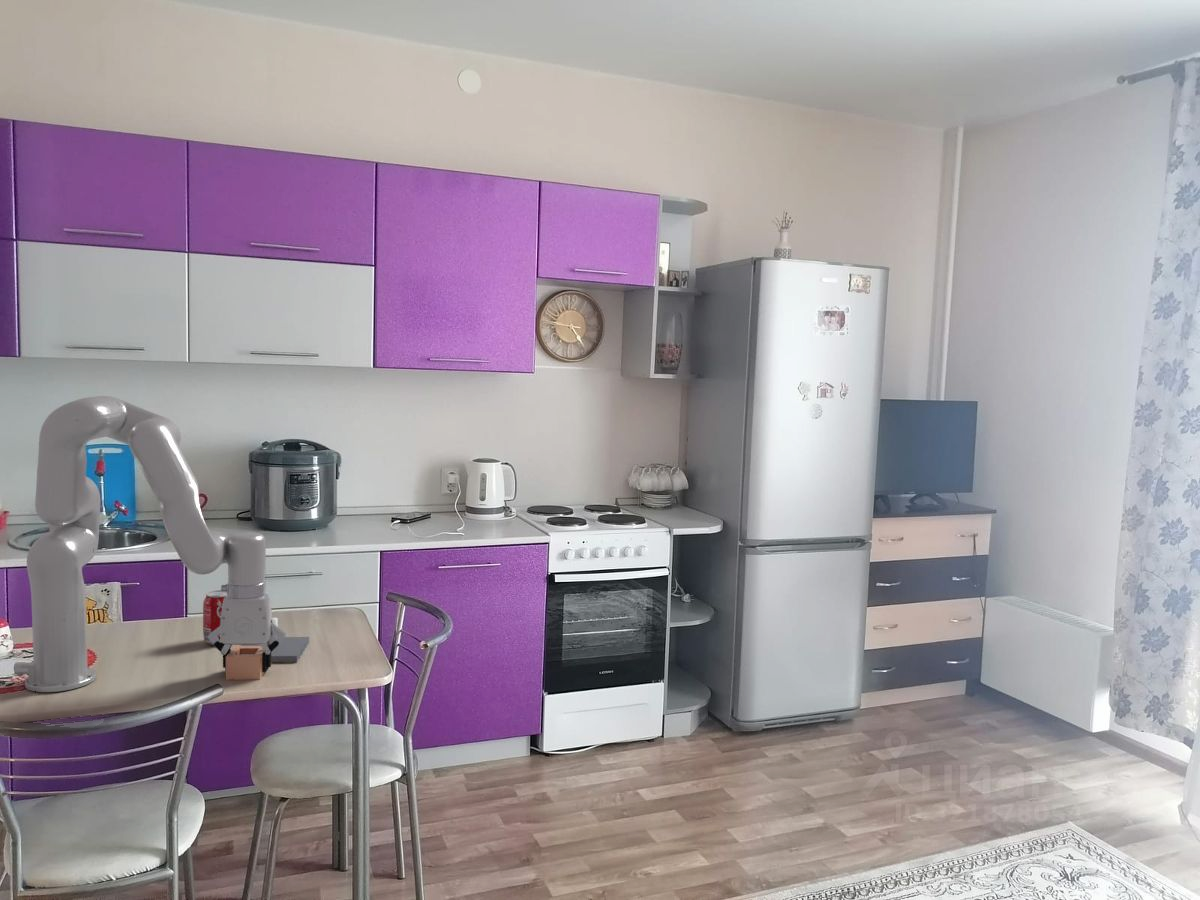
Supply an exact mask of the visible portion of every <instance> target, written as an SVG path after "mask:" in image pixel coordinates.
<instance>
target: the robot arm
mask: <svg viewBox="0 0 1200 900" xmlns="http://www.w3.org/2000/svg"><path fill="white" fill-rule="evenodd" d="M106 437H107V438H109V439H112V440H115V441H117V442H119V443H120V442H121V443H123V444H126V445H128V447H129V450H130V451H131V453H132V456H133V457H134V460H135V461H136V463H137V465H138V467H139V469H140V470H141V472H142V474H143V476H144V479H145V480H146V482H147V484H148V485H149V487H150V490H151V491H152V494H153V495H154V498H155V500H156V502H157V507H158V511H159V513H160V516H161V517H162V522H163V525H164V528H165V530H166V532H167V533H166V534H167V535H168V537H169V540H170V541H171V544H172V547H173V548H174V549H175V551H176V553H177V555H178V557H179V559H180V561H181V562H182V564H183V565H184V566H185V567H186V569H188V570H189V571H190V572H191V573H194V574H197V575H200V576H201V575H207V574H208V575H209V574H211V573H213V572H214V571H216V570H217V569H219V568H220V566H221V565H223V564H226V565H227V580H228V581H227V583H225V584H222V585H221V587H220V590H221V591H225V592H227V595H228V596H226V597H225V598H224V601H223V606H222V613H221V624H220V626H219V627H218V628H216V629H215V630H214V631H213V632H211V633H210V634H209V635H208V639H209V640H210V641H211V642H212V643H213V644H214V645H213V646H214V647H215V648H216V649H217V650H218V651H219V652H220V654H221V655H222V668H223V669H225V670H224V671H225V674H226V656H227V655H228V654H229V652H230V651H231V650H232V649H231V648H232V647H233V645H235V646H242V645H258V644H260V645H261V647H262V649H263V651H264V654H263V656H262V671H263V673H264V672H265V673H267V672H268V671H269V669H270V668H271V667H272V663H271V652H272V651H273V650H274V649H275V648H276V647H277V646H278V645H279V644H280V643H281V642H282V640H283V639H284V638H285V637H287V633H286V632H284V631H283V629H281V628H279V626H278V627H277V626H276V625H274V624H273V620H272V618H273V613H272V605H271V600H270V595H269V594H267V593H266V592H267V591H266V590H267V588H266V587H267V586H266V584H267V583H266V582H267V581H266V580H267V579H266V577H267V575H266V574H267V573H266V571H267V570H266V566H267V565H266V562H267V560H266V557H267V556H266V550H267V549H266V545H267V544H266V537H265V536H264V535H263V534H262V533H261V532H255V531H254V532H253V531H246V532H245V531H244V532H243V531H242V532H226V531H220V530H210V529H209V527H208V526H207V524H206V522H205V519H204V515H203V514H202V510H201V505H200V488H199V487H200V486H199V483H198V480H197V478H196V476H195V474H194V473H193V470H192V468H191V466H190V465H189V463H188V460H187V459H186V457H185V455H184V454H183V451H182V450H181V448H180V443H181V439H182V435H181V431H180V429H179V427H178V425H177V424H176V423H175V422H174V421H173V420H171V419H169V418H167V417H165V416H162V415H160V414H157V413H155V412H152V411H150V410H147V409H144V408H142V407H140V406H137V405H134V404H132V403H129V402H128V401H125V400H121V399H120V398H116V397H113V396H108V395H99V396H89V397H84V398H79V399H75V400H73V401H72V400H71V401H69V402H67V403H64V404H63V405H61V406H59V407H57V408H56V409H54V410H53V411H52V412H50V414H49V415H48V416H47V417H46V418H45V419H44V422H43V423H42V426H41V428H40V432H39V436H38V438H39V439H38V457H37V469H36V470H37V471H36V482H35V483H36V487H35V498H34V500H35V501H34V507H35V512H36V514H37V517H38V518H39V519H40V520H41V521H42V522H44V523H45V524H48V525H49V531H48V532H47V533H45V534H43V535H42V536H40V537H39V538H37V539H36V540H34V542H33V543H32V545H31V546H30V548H29V550H28V552H27V556H26V569H27V575H28V580H29V586H30V596H31V597H30V598H31V600H30V601H31V617H32V619H31V620H32V621H31V623H32V653H33V654H32V657H33V658H32V659H33V660H31V662H26V661H16V662H15V663H14V666H13V673H14V675H26V676H27V678H26V679H25V681H24V687H25V688H26V689H27V690H29V691H31V692H35V691H36V692H37V693H57V692H63V691H64V692H65V691H70V690H75V689H78V688H81V687H84V686H87V685H88V684H91V683H92V682H93V681H95V680H96V678H97V672H96V670H95V669H93V668H91V667H88V635H87V634H88V633H87V632H88V631H87V604H86V603H87V600H86V599H87V597H86V595H87V594H86V587H85V586H86V585H85V580H84V576H83V567H85V565H87V564H88V563H90V562H91V561H92V559H93V558H94V557H95V555H96V554H97V551H98V547H99V540H100V539H99V537H100V524H101V523H100V521H101V520H100V519H101V494H100V491H99V488H98V485H97V484H96V483H95V482H94V481H93V480H92V479H91V478H90V477H88V476H87V475H86V474H87V473H86V472H87V466H88V465H87V464H88V463H87V462H88V459H87V457H88V456H87V449H86V446H87V445H88V443H89V442H90V441H93V440H96V439H101V438H106ZM273 633H274V634H275V635H276V636H277V638H276V640H275V641H274V642H272V643H271V642H270V640H269V639H270V637H271V636H272V634H273ZM218 634H220V640H219V638H218V637H217V635H218ZM265 673H264V674H265ZM36 692H35V693H36Z"/></svg>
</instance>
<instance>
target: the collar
mask: <svg viewBox="0 0 1200 900" xmlns="http://www.w3.org/2000/svg"><path fill="white" fill-rule="evenodd" d="M263 654H264V651H263V649H262V647H261V646H242V645H235V646H233V648H232V649H231V651H230V652H229V654H228V655H227V656H226V673H225V680H226V681H227V680H228V681H229V679H230V680H231V679H234V680H261V678H263V676H264V674H265V673H266V672H264V673H263V671H262V656H263Z"/></svg>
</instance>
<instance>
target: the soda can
mask: <svg viewBox="0 0 1200 900" xmlns="http://www.w3.org/2000/svg"><path fill="white" fill-rule="evenodd" d="M226 596H228V595H227V592H225V591H221V589H220V590H212V591H209V592H207V593H206V594H205V598H204V600H203V604H202V621H203V622H202V629H203V630H202V631H203V642H205V643H207V644H208V645H209V644H211V645H210V646H214V644H213V643H212V642H211V641H210V640H209V639H208V635H209V634H210V633H211V632H213V631H214V630H215V629H216V628H218V627H219V626H220V624H221V613H222V606H223V601H224V598H225V597H226ZM217 637H218V638H219V640H220V634H218V635H217Z"/></svg>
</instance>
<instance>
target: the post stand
mask: <svg viewBox="0 0 1200 900" xmlns="http://www.w3.org/2000/svg"><path fill="white" fill-rule="evenodd" d="M272 620H273V624H274V625H276V626H277V627H278V628H279V626H278V625H279V624H278V621H279V618H277V617H272ZM276 638H277V636H276V635H275V634H274V633H273V634H272V636H271V637H270V639H269V640H270V642H271V643H272V642H274V641H275V640H276ZM308 643H309V644H310V636H286V637H285V638H284V639H283V640H282V642H281V643H280V644H279V645H278V646H277V647H276V648H275V649H274V650H273V651H272V652H271V662H284V663H298V662H299V660H300V659H301V657H302V655H303V654H304V652H305V650H306V649H305V648H307V647H308V646H307V645H309V644H308ZM241 646H261V645H260V644H258V645H241ZM303 651H304V652H303ZM302 653H303V654H302ZM300 656H301V657H300ZM298 659H299V660H298ZM297 661H298V662H297Z"/></svg>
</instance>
